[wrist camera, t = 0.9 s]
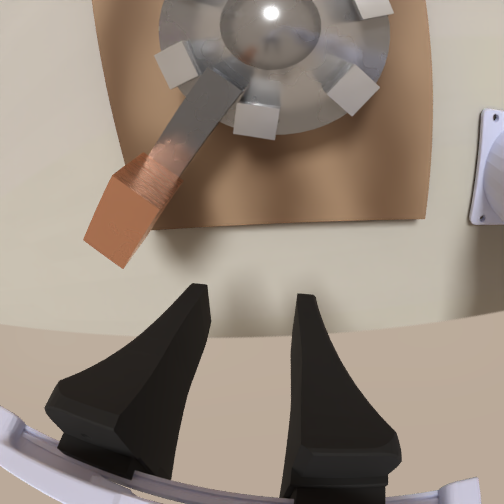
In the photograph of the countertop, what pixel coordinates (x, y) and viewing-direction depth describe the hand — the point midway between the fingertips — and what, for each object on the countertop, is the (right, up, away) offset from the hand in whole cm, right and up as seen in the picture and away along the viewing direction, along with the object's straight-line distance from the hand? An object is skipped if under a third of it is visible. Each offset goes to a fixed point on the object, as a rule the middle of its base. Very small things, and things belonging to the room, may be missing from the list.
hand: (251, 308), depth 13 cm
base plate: (0, +14, +2) cm, 14 cm away
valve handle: (-1, +11, +2) cm, 11 cm away
